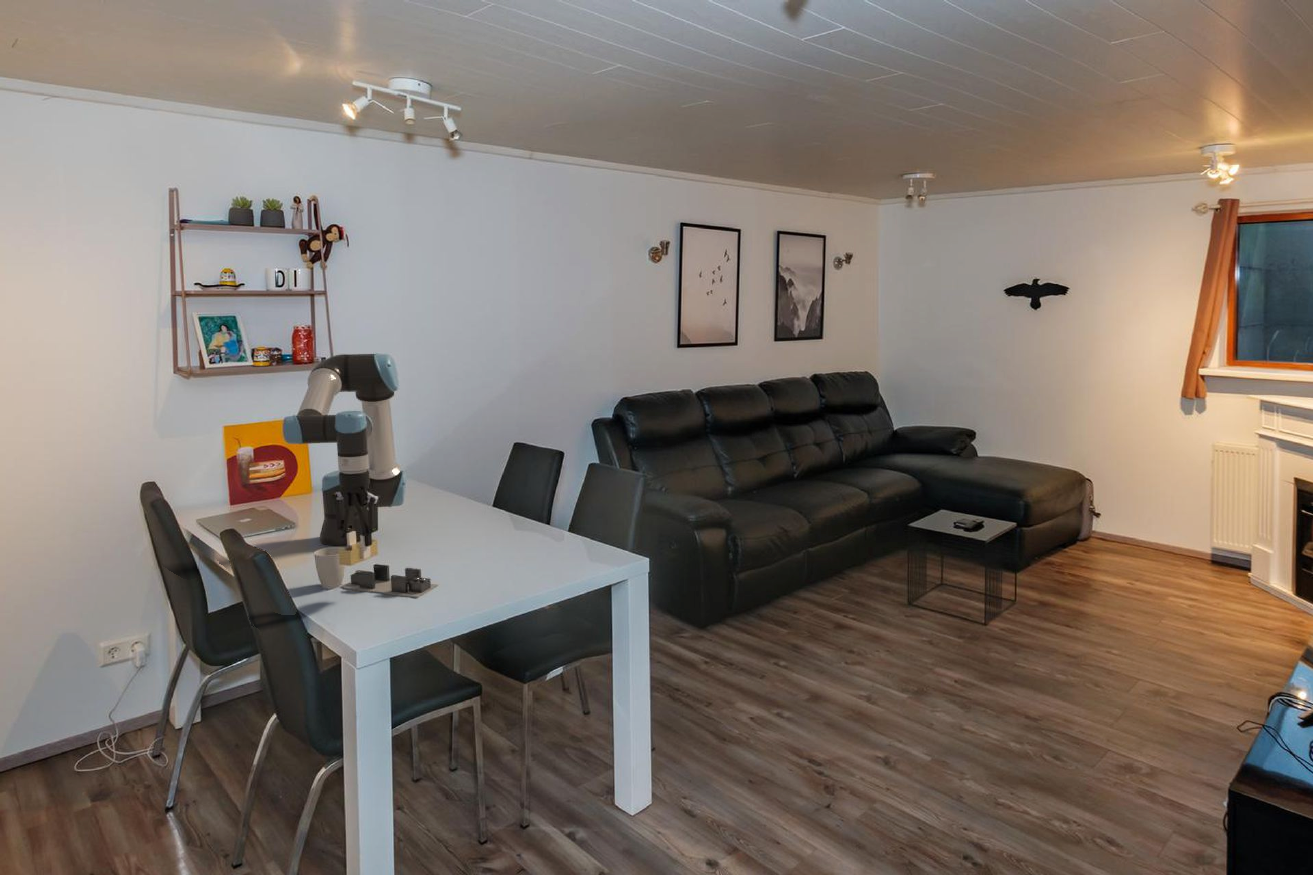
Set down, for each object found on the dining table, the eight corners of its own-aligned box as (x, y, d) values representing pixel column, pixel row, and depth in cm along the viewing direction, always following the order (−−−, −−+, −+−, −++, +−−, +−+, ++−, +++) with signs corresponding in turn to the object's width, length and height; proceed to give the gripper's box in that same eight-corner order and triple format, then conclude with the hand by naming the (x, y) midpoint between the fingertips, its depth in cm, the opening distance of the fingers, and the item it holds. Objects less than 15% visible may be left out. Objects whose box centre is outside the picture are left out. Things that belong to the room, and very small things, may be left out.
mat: (343, 588, 230) (343, 587, 230) (366, 577, 240) (366, 575, 240) (417, 597, 223) (417, 596, 223) (438, 585, 232) (438, 584, 232)
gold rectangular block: (351, 565, 214) (350, 548, 214) (339, 564, 215) (338, 547, 215) (377, 554, 225) (377, 537, 224) (366, 553, 226) (365, 536, 225)
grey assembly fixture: (347, 585, 231) (346, 570, 231) (364, 577, 238) (363, 562, 238) (418, 594, 224) (417, 579, 223) (433, 585, 231) (433, 570, 230)
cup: (336, 578, 238) (333, 545, 237) (353, 584, 234) (351, 550, 232) (310, 586, 232) (308, 552, 230) (327, 592, 227) (325, 557, 225)
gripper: (317, 471, 215) (323, 557, 219) (371, 475, 210) (377, 564, 214) (337, 465, 222) (342, 549, 226) (389, 469, 217) (394, 555, 221)
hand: (359, 556), depth 220 cm, fingers closed on gold rectangular block, 4 cm apart
